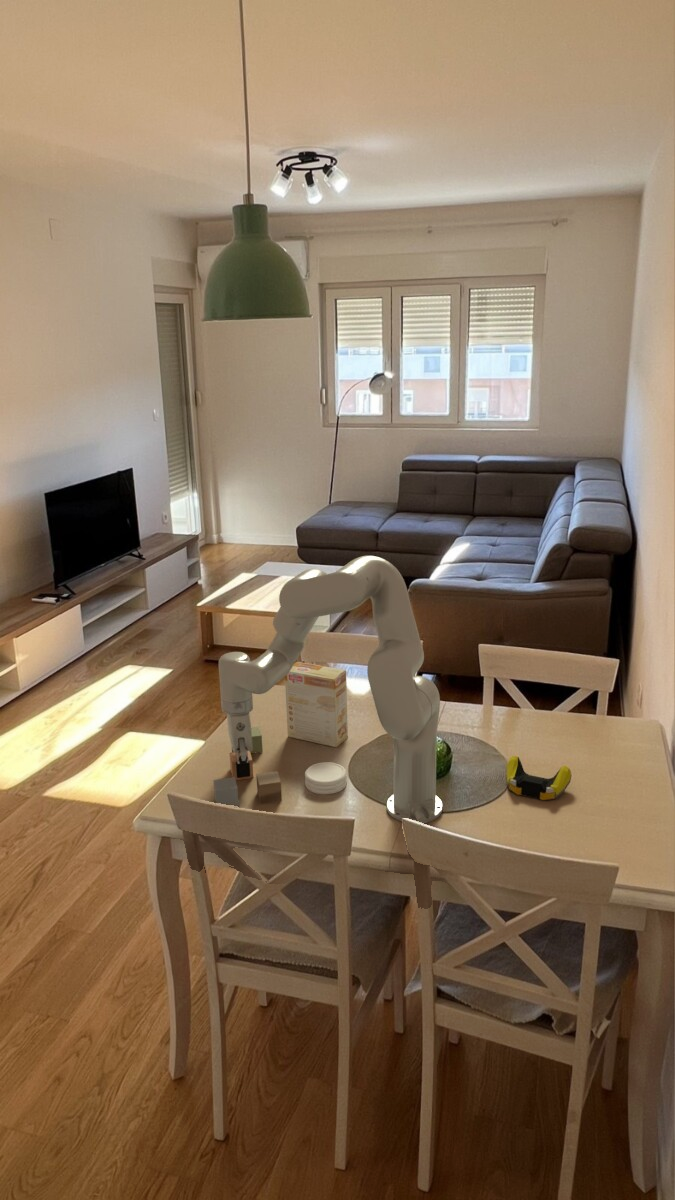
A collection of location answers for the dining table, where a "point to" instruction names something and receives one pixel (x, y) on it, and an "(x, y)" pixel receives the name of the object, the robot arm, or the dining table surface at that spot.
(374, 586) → the robot arm
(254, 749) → the green cube
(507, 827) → the dining table surface
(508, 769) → the gaming controller
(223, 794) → the slate-grey block
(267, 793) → the walnut block
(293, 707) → the coffeecake box
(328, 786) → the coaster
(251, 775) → the terracotta block
